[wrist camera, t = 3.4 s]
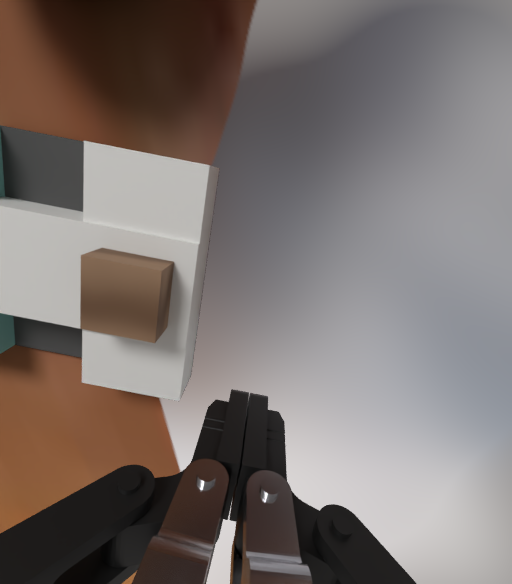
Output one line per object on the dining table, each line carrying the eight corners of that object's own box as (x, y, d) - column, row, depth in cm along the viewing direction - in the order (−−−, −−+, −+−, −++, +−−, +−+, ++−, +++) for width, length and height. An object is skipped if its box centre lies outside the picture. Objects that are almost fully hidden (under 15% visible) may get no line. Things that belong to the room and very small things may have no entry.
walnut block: (102, 247, 22) (80, 255, 19) (174, 261, 22) (161, 271, 19) (100, 314, 23) (80, 328, 21) (167, 327, 23) (155, 343, 21)
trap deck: (-115, 102, 23) (-191, 86, 20) (219, 168, 23) (208, 165, 20) (-78, 323, 29) (-130, 343, 25) (191, 375, 29) (178, 403, 25)
